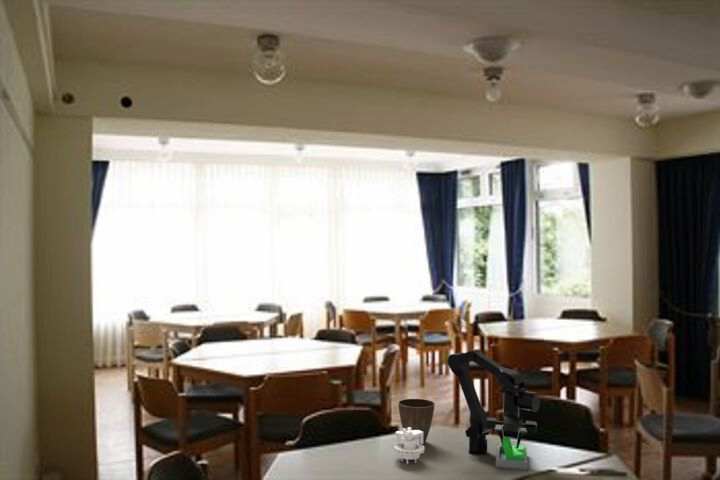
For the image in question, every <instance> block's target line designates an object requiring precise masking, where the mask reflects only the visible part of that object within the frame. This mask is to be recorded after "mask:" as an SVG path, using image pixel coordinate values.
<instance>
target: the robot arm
mask: <svg viewBox="0 0 720 480" xmlns="http://www.w3.org/2000/svg"><path fill="white" fill-rule="evenodd" d="M471 362H473V363H475V364H476V365H478V366H479V367H480V368H482V369H484V370H485V371H487V372H488V373H489V374H491V375H492V376H494V377H495V378H496V379H497V382H498V383H499V384H500V385H501V386H502V387H501V388H500V389H499V390H498V393H501V394H503V408H502V409H503V411H502V412H503V413H502V420H501V421H500V420H497V418H496V417H492V416H491V413H490V410H488V411H485V410H484V408H483V407H482V404H481V402H480V399H479V396H478V394H477V393H478V392H477V391H476V387H475V385H474V383H473V380H472V378H471V374H470V369H471V365H470V363H471ZM447 365H448V367H449V369H450V371H451V372H452V373H453V374H454V375H455V376H456V378H457V380H458V382H459V385H460V388H461V391H462V393H463V396H464V398H465V401H466V405H467V407H468V409H469V412H470V413H469V423H470V426H469V427H468V428H466V430H465V431H464V434H465V436H466V438H468V443H469V444H468V453H469V454H471V455H472V454H475V455H486V454H487V452H488V439H487V436H489V435H490V432H491V431H492V430H494V431H493V432H496V433H497V434H498V437H499V439H500V443H501V446H503V438H505V437H504V432H513V433H516V432H517V433H518V434H517V440H516V445H517V449H518V447H519V445H521V442H522V439H523V437H524V436H525V435H528V433H532V434H537V433H538V425H537V423H538V422H536V421H532V420H526V421H525V423H524V418H523V417H520V409H521V410H524V411H530V412H534V413H536V412H538V411H539V409H540V405H541V400H540V398H539V396H538V393H537V392H536V391H529V389H528V387H527V385H526V384H525V382H524V380H523V377H522V376H523V375H521V373H520V372H518V371H516V370H514V369H511V368H507V367H504V366H503V365H501V364H499V363H498V362H496V361H495V360H494V359H492V358H491V357H489V356H487V355H486V354H484V353H483V352H481V350H479V349H472V350H468V351H466V352H456V353H452V354H450V355H448V357H447Z"/></svg>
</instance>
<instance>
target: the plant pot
mask: <svg viewBox="0 0 720 480" xmlns="http://www.w3.org/2000/svg"><path fill="white" fill-rule="evenodd" d="M397 404H398V413H399V418H400V419H399V420H400V424H401V427H402V429H403V428H405V429H407V428H408V427H410V428H412V430H420V431H422V432H423V444H421V443H418V444H421V445H424V444H426V441H427V439H428V435H429V433H430V430H431V426H432V422H433V417H434V411H435V405H436V403H435V402H434V401H433V400H429V399H423V398H405V399H401V400H399V401H398V402H397Z"/></svg>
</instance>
